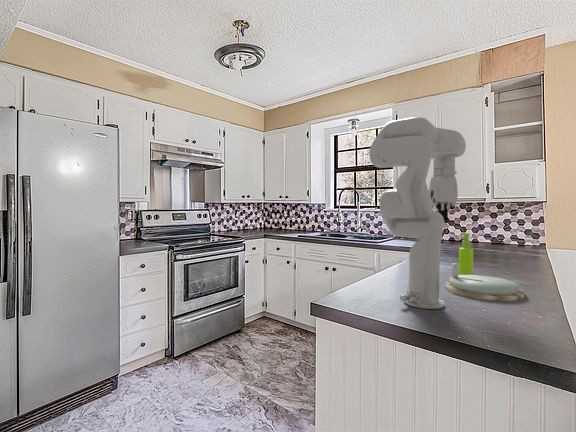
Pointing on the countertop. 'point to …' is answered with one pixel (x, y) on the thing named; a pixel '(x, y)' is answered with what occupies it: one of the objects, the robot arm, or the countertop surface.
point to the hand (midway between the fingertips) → (442, 220)
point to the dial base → (485, 296)
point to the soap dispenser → (465, 257)
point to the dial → (482, 283)
